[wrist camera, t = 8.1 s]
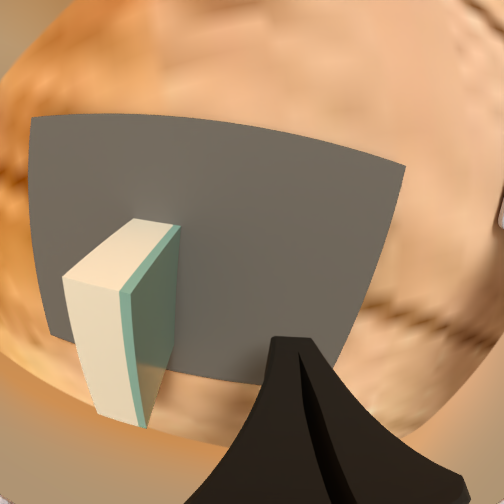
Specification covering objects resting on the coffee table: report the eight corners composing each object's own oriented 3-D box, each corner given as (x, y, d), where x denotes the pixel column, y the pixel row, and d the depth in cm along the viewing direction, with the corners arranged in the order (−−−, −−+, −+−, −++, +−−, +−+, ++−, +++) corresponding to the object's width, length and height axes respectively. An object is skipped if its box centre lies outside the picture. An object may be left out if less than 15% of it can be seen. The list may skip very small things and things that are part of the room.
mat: (401, 164, 10) (405, 165, 10) (320, 384, 15) (321, 389, 14) (36, 117, 9) (31, 117, 9) (53, 330, 14) (50, 334, 13)
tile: (181, 226, 11) (130, 293, 6) (174, 344, 13) (146, 428, 8) (133, 218, 11) (61, 276, 6) (135, 335, 13) (97, 413, 8)
